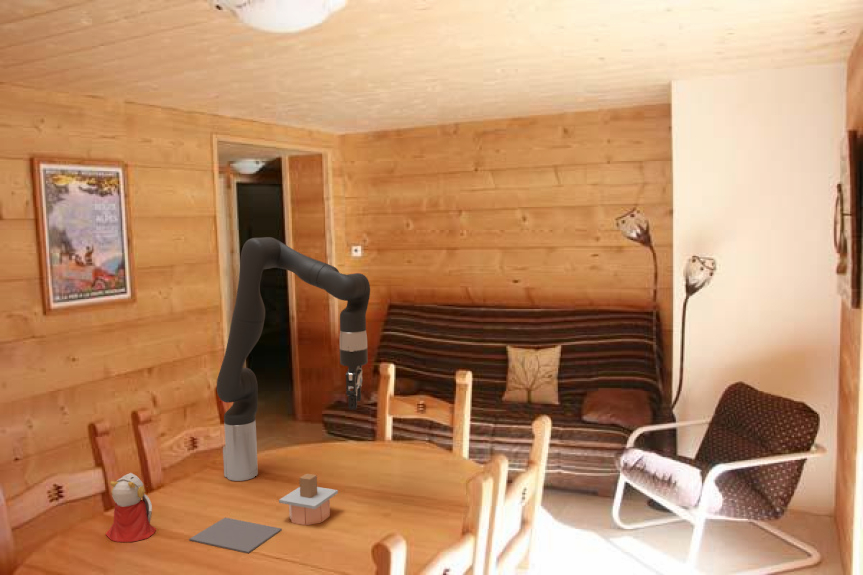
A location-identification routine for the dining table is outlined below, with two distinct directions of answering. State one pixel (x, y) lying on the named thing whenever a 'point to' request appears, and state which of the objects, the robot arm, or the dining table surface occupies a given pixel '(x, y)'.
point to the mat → (236, 535)
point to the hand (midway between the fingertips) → (354, 404)
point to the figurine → (130, 511)
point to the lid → (308, 493)
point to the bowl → (309, 514)
